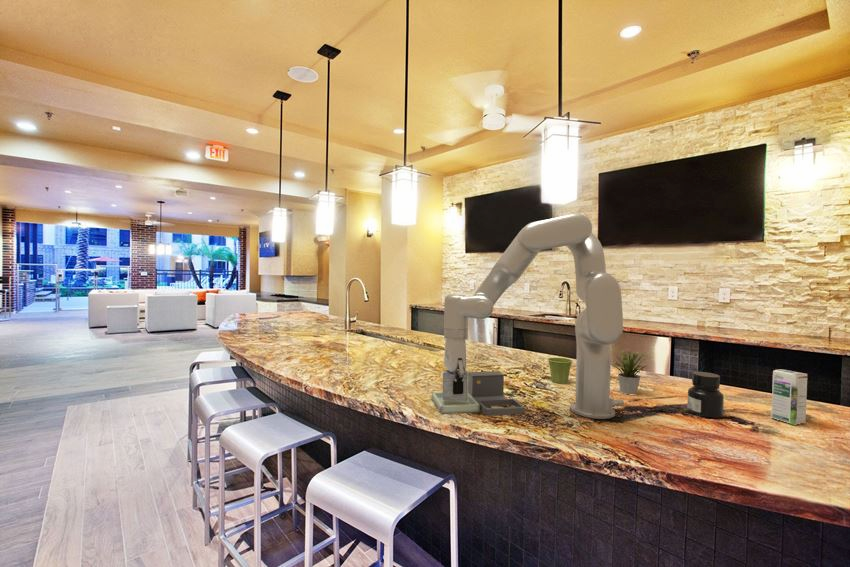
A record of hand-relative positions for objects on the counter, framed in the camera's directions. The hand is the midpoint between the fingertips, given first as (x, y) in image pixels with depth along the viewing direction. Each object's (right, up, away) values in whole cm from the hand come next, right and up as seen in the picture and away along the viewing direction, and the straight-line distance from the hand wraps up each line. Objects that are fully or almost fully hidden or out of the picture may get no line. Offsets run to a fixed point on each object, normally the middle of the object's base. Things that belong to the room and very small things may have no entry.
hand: (455, 390), depth 122 cm
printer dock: (+13, -5, +3) cm, 14 cm away
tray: (0, -5, 0) cm, 5 cm away
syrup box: (+96, -6, -10) cm, 97 cm away
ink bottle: (+76, -6, -4) cm, 76 cm away
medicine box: (0, -3, 0) cm, 3 cm away
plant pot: (+43, -5, +29) cm, 53 cm away
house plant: (+64, -5, +15) cm, 66 cm away
